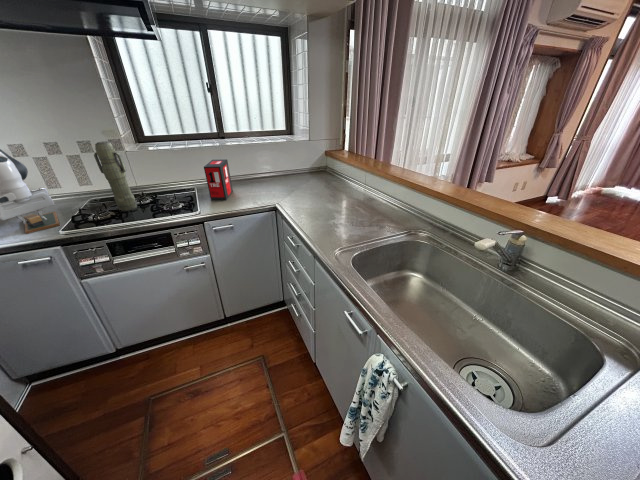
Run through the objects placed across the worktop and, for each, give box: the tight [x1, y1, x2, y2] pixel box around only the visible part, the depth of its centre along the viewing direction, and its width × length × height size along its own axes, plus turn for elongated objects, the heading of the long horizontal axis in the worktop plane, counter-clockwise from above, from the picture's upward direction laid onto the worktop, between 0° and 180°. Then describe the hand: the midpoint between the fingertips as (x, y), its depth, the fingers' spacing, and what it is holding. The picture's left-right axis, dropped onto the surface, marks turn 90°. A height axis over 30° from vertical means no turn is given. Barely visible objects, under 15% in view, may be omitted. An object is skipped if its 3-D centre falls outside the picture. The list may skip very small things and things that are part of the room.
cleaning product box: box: [203, 158, 234, 202], centre depth 160 cm, size 16×9×20 cm, turn 3°
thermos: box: [93, 141, 138, 212], centre depth 140 cm, size 9×12×35 cm
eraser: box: [22, 213, 44, 227], centre depth 128 cm, size 6×4×4 cm, turn 64°
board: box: [24, 211, 61, 235], centre depth 132 cm, size 20×12×1 cm, turn 45°
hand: (33, 220), depth 128 cm, fingers closed on eraser, 4 cm apart
